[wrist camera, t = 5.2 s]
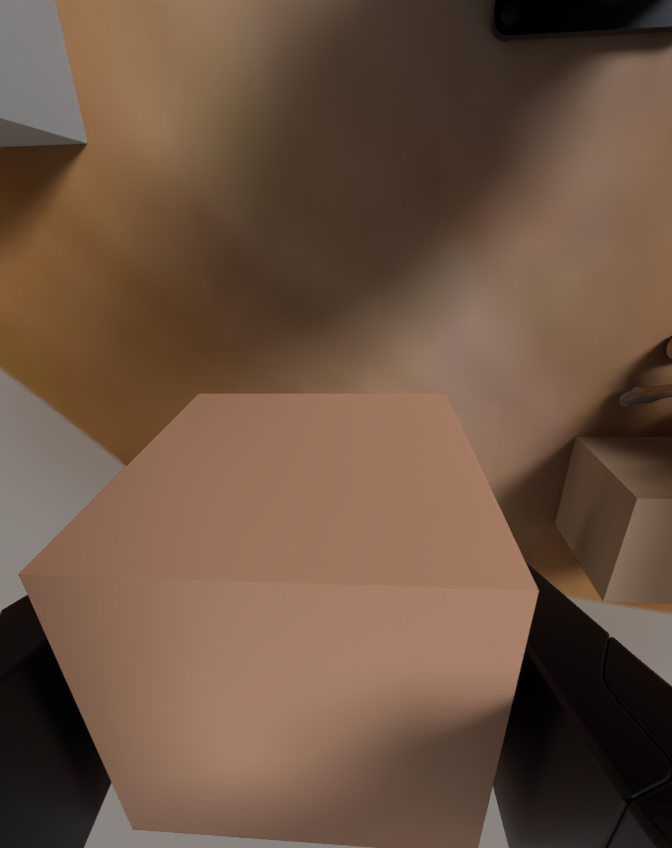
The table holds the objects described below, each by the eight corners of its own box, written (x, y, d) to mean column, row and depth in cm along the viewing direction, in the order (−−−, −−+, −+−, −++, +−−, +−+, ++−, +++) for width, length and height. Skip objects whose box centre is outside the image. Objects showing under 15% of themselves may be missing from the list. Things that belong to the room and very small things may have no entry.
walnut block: (690, 436, 19) (788, 501, 15) (657, 525, 21) (734, 606, 17) (575, 435, 20) (637, 498, 15) (553, 523, 22) (603, 601, 17)
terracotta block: (446, 393, 8) (538, 591, 4) (429, 583, 10) (476, 855, 6) (199, 393, 9) (19, 574, 4) (230, 577, 11) (132, 829, 6)
